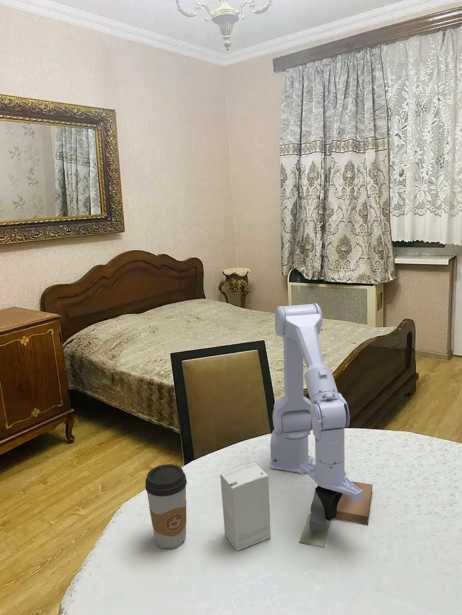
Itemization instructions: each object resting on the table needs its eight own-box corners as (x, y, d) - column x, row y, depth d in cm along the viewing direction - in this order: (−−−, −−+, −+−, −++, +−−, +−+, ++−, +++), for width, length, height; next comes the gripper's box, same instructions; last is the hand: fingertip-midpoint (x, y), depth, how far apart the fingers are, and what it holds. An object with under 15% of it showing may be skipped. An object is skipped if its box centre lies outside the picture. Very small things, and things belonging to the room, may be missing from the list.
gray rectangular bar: (315, 496, 110) (315, 486, 109) (329, 497, 109) (329, 488, 108) (309, 529, 99) (309, 519, 98) (324, 531, 98) (324, 521, 97)
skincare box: (257, 522, 105) (255, 460, 102) (272, 539, 100) (270, 474, 97) (222, 535, 102) (218, 471, 98) (235, 553, 96) (232, 486, 93)
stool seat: (299, 542, 99) (299, 534, 98) (318, 483, 118) (318, 476, 118) (363, 555, 94) (363, 546, 94) (372, 492, 114) (372, 484, 113)
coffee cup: (158, 559, 96) (152, 490, 93) (145, 534, 103) (138, 470, 100) (197, 543, 100) (192, 477, 96) (182, 520, 107) (177, 458, 104)
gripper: (372, 463, 95) (372, 526, 97) (315, 438, 106) (316, 495, 109) (349, 477, 90) (349, 542, 93) (292, 449, 102) (294, 508, 104)
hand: (330, 517), depth 101 cm, fingers closed, pressing on gray rectangular bar
